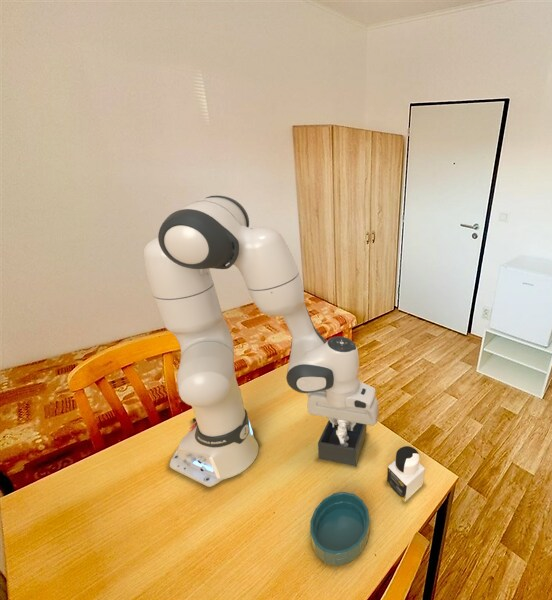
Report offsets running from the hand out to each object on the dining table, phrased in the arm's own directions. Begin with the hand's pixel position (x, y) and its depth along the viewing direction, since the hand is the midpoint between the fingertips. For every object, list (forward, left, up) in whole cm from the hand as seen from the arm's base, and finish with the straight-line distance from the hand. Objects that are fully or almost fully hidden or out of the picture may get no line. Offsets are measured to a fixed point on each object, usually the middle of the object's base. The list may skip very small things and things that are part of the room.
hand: (343, 427), depth 92 cm
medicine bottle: (+20, -8, -8) cm, 23 cm away
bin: (0, 0, -8) cm, 8 cm away
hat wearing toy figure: (0, 0, -6) cm, 6 cm away
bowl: (+7, -23, -8) cm, 25 cm away
